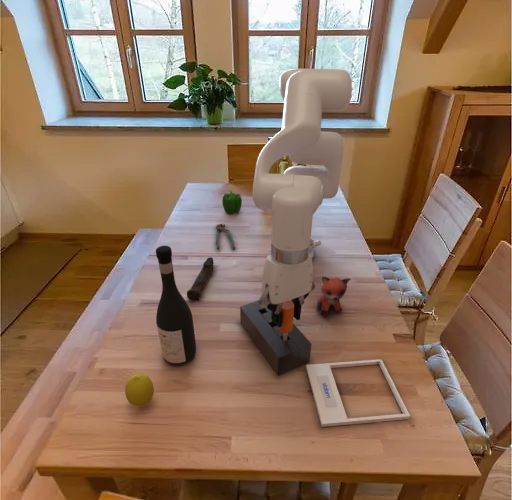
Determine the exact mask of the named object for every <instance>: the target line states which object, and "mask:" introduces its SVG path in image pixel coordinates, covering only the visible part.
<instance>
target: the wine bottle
mask: <svg viewBox="0 0 512 500" xmlns="http://www.w3.org/2000/svg"><path fill="white" fill-rule="evenodd" d="M155 254H156V255H155V257H156V258H157V261H158V262H157V263H158V266H159V267H158V268H159V272H160V278H161V284H162V287H161V288H162V290H161V296H160V299H159V302H158V305H157V308H156V317H155V323H156V329H157V333H158V338H159V343H160V350H161V355H162V357H163V359H164V361H165V362H166V363H168V365H172V366H182V365H185V364H187V363H189V362H191V361H192V360H193V359H194V358H195V355H196V353H197V342H196V341H197V340H196V334H195V326H194V325H195V324H194V319H193V313H192V310H191V308H190V306H189V304H188V302H187V301H186V300H185V298H184V296H183V295H182V294H181V292H180V290H179V289H178V286H177V284H176V278H175V271H174V264H173V257H172V256H173V250H172V248H171V247H170V246H169V245H160V246H157V248H156V249H155Z"/></svg>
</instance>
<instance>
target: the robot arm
mask: <svg viewBox="0 0 512 500" xmlns="http://www.w3.org/2000/svg"><path fill="white" fill-rule="evenodd" d="M278 79H279V80H278V86H279V92H280V95H281V98H282V100H283V111H282V120H281V130H280V131H278V132H277V133H275V135H273V137H271V138H270V139H269V140H268V141H267V142H266V143H265V145H264V146H263V148H262V149H261V151H260V152H259V155H258V156H257V159H256V163H255V170H254V176H253V184H252V201H253V203H254V205H255V206H256V207H257V208H258V209H259V210H262V211H267V212H268V211H269V212H271V233H270V234H271V235H270V237H271V238H270V254H268V255H267V257H266V259H265V262H264V263H265V264H264V266H263V267H264V268H263V273H262V282H261V283H262V284H261V293H262V294H261V295H260V298H259V299H258V300H259V301H258V300H257V301H258V304H259V306H260V307H262V308H268V309H269V310H271V311H272V315H271V319H272V321H273V322H274V323H276V325H277V326H278V327H279V328H280V327H282V317H283V314H282V312H281V307H282V303H283V302H286V301H292V302H293V303H294V317H293V319H295V320H296V321H300V320H301V316H302V307H303V305H305V304H306V303H305V300H306V299H307V298H308V297H309V296H310V293H312V292H313V291H314V290H315V289H316V288H317V285H316V284H315V283H314V281H313V275H314V274H313V269H314V268H313V258H314V256H315V255H314V254H315V251H314V250H313V249H315V248H316V247H319V246H322V241H321V240H320V239H318V240H314V238H312V227H313V217H314V214H315V213H316V212H317V211H318V209H319V208H320V206H322V204H323V201H324V200H325V199H326V200H329V199H333V198H335V197H336V196H337V194H338V191H339V187H340V181H341V172H342V164H343V156H344V140H343V136H342V135H341V134H340V133H339V132H336V131H323V130H322V115H323V112H328V113H329V112H330V113H342V112H345V111H346V110H347V109H348V107H349V106H350V103H351V100H352V95H353V84H352V77H351V74H350V73H349V71H347V70H345V69H340V68H339V69H336V68H335V69H334V68H292V69H287V70H284V71H283V72H282V73H281V74H280V76H279V78H278ZM287 156H288V158H289V160H290V161H291V162H292V163H293V164H296V165H294V166H289V167H287V168H286V169H285V170H284V171H283V173H270V171H271V168H272V167H273V166H274V165H275V164H276V162H278V161H280V160H281V159H283V158H285V157H287ZM297 164H298V165H297ZM306 165H307V166H306ZM269 298H270V299H271V300H270V301H268V300H269ZM275 304H276V305H275Z"/></svg>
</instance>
